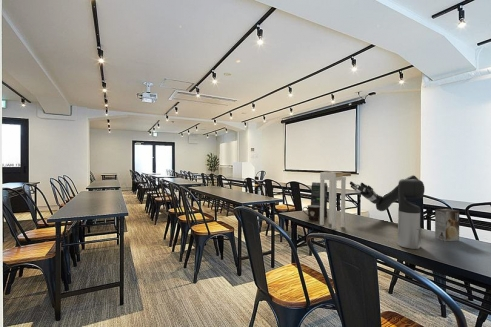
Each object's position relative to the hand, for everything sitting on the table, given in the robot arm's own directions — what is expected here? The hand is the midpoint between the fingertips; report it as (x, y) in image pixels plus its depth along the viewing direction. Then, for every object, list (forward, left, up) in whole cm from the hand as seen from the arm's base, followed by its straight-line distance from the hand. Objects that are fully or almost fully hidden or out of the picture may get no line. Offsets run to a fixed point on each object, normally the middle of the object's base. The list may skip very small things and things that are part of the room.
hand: (355, 183), depth 173 cm
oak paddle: (+5, +15, +5) cm, 17 cm away
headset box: (+30, -6, -27) cm, 41 cm away
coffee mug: (+24, +15, -27) cm, 40 cm away
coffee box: (-50, +1, -27) cm, 57 cm away
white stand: (+6, +21, -27) cm, 35 cm away
